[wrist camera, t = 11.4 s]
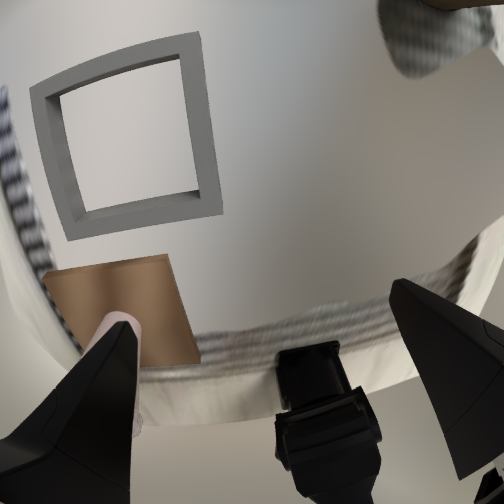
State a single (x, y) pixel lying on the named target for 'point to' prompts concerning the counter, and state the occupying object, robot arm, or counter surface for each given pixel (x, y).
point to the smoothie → (136, 326)
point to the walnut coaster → (128, 305)
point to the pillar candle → (460, 4)
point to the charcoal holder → (59, 157)
